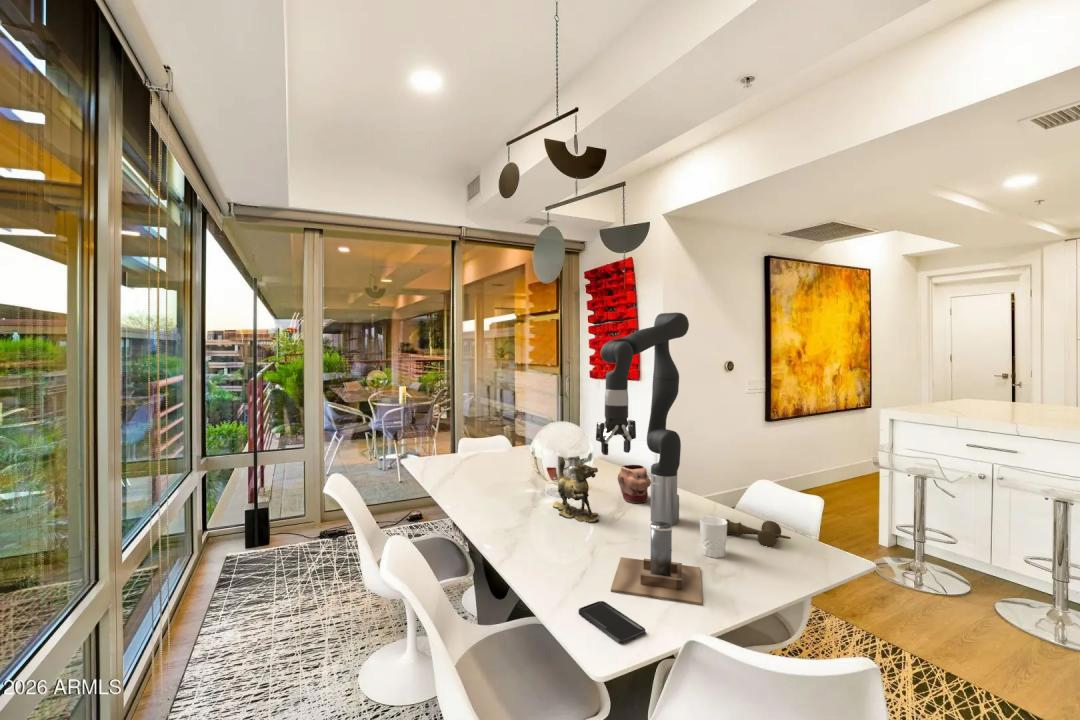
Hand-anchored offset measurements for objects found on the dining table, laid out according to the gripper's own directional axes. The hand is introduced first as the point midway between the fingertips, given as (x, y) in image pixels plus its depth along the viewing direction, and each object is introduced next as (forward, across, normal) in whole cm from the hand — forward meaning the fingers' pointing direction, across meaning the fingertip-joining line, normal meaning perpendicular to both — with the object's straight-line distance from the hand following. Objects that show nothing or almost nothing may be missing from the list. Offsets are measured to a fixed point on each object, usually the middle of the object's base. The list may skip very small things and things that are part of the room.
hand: (616, 453), depth 154 cm
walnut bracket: (+28, -6, -28) cm, 40 cm away
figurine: (+28, +2, +28) cm, 40 cm away
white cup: (+28, +20, -22) cm, 41 cm away
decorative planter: (+28, +33, +32) cm, 54 cm away
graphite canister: (+27, -6, -28) cm, 40 cm away
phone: (+29, -30, -38) cm, 56 cm away
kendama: (+29, +41, -21) cm, 54 cm away
